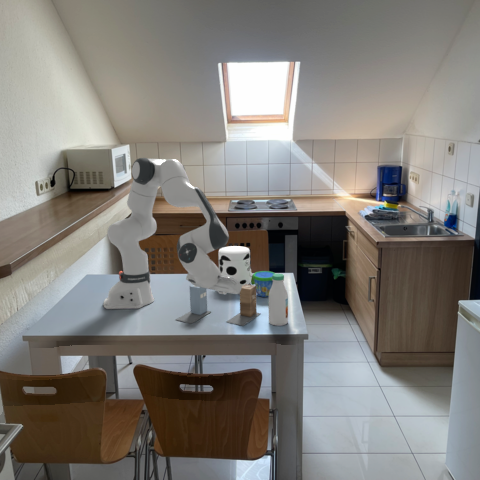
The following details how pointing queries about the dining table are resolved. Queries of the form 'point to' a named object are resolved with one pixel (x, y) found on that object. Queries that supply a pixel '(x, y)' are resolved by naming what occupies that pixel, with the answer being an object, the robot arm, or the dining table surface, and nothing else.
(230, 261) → the milk container
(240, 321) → the grey rectangular plate
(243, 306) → the wooden box
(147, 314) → the dining table surface
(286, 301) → the milk bottle
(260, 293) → the snack cup
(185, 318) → the grey flat block
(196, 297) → the rectangular block
